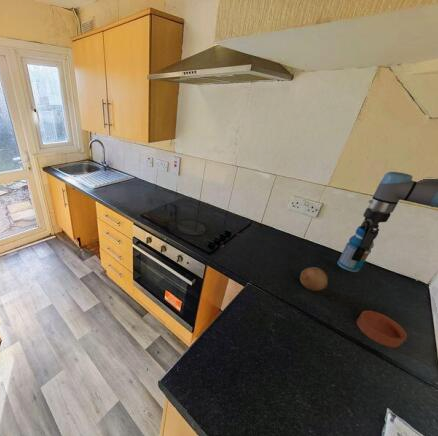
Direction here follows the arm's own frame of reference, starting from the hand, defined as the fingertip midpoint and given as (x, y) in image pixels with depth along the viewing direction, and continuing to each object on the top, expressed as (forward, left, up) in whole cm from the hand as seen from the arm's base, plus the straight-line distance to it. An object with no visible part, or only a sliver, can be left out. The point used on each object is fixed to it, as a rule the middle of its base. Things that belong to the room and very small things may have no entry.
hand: (353, 255), depth 103 cm
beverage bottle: (0, 0, -7) cm, 7 cm away
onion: (+13, +21, -12) cm, 27 cm away
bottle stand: (-8, +32, -11) cm, 35 cm away
